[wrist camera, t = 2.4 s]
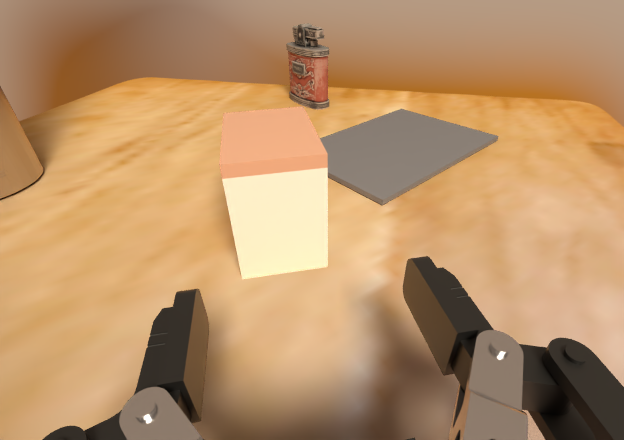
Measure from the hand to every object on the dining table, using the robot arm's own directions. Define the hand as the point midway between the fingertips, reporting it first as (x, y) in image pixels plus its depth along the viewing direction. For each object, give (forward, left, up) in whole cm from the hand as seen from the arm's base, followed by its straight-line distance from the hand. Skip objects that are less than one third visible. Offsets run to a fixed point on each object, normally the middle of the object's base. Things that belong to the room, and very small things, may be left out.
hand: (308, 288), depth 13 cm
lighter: (-33, +27, -6) cm, 43 cm away
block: (-10, +5, -6) cm, 12 cm away
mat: (-14, +23, -6) cm, 27 cm away
